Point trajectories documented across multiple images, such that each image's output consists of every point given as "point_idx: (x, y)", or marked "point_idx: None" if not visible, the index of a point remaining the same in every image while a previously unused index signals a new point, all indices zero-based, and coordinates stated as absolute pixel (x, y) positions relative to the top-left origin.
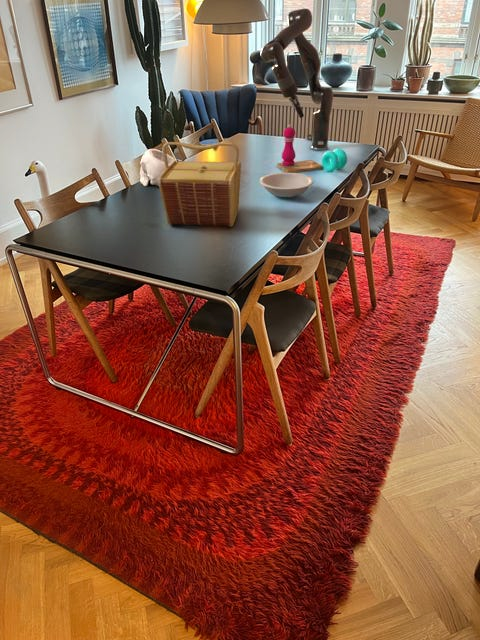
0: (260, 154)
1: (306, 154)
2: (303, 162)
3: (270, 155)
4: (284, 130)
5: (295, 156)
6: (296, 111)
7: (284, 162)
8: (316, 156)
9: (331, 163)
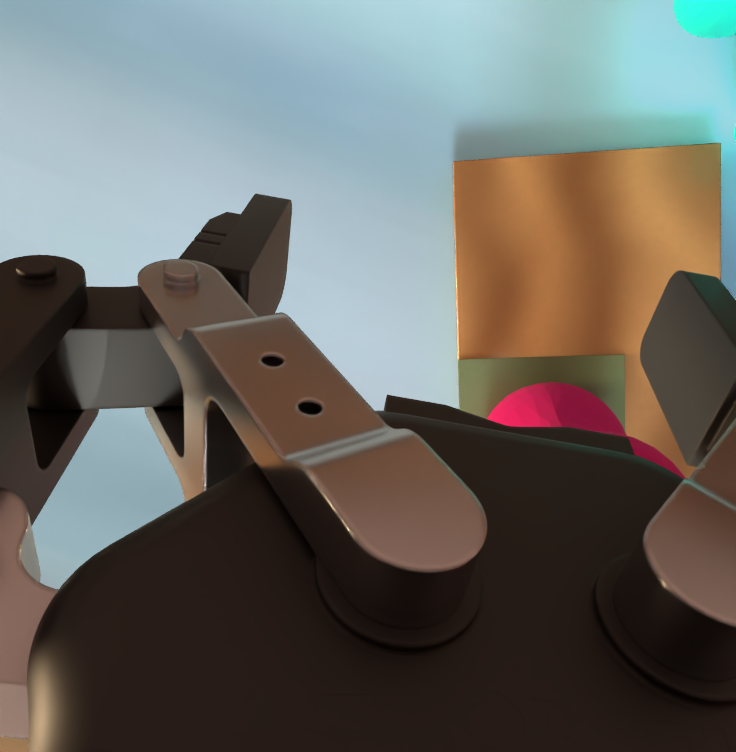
0: (45, 506)
1: (171, 111)
2: (510, 273)
3: (102, 436)
4: None
5: (580, 388)
6: (273, 309)
7: None
8: (266, 44)
9: (707, 37)
